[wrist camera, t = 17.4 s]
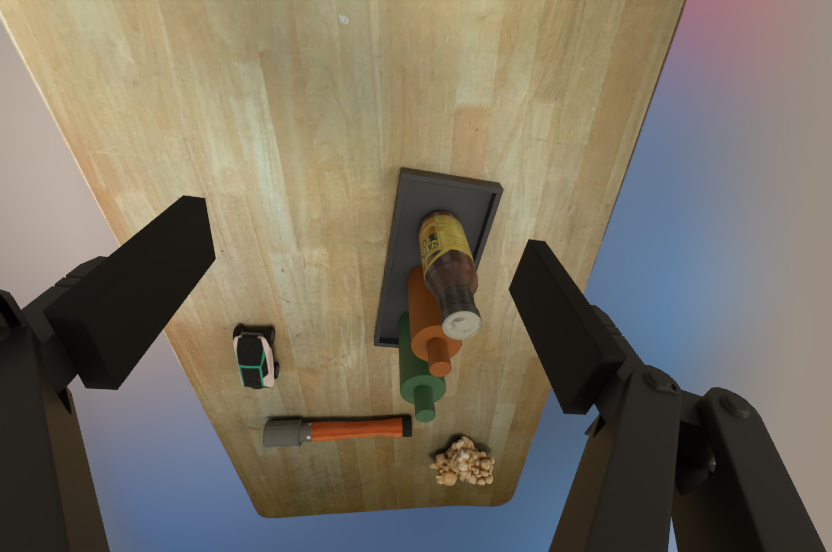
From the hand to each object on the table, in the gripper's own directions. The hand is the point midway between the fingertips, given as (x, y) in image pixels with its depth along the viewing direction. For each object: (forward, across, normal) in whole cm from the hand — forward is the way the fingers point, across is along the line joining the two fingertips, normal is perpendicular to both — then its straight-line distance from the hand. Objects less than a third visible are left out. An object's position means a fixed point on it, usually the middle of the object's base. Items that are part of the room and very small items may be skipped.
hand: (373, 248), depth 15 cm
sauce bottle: (+32, +10, -15) cm, 37 cm away
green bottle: (+32, +9, -33) cm, 47 cm away
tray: (+33, +10, -22) cm, 41 cm away
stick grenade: (+32, -2, -63) cm, 71 cm away
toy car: (+33, -17, -43) cm, 57 cm away
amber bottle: (+32, +10, -24) cm, 41 cm away
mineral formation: (+32, +28, -73) cm, 85 cm away
